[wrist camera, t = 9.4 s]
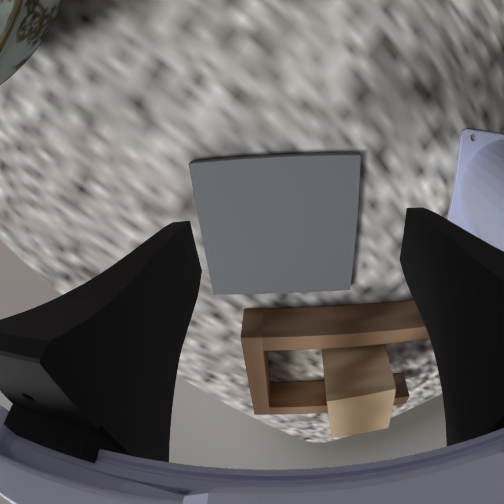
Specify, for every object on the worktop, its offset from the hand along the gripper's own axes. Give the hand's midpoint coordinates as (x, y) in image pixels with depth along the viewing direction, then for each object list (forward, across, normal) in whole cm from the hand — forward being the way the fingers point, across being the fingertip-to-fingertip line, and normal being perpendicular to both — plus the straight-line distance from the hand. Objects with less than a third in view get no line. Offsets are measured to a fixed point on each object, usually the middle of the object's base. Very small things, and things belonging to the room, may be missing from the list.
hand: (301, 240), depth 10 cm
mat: (+9, +1, +5) cm, 11 cm away
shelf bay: (+9, -4, +18) cm, 21 cm away
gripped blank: (+10, -5, +18) cm, 21 cm away
